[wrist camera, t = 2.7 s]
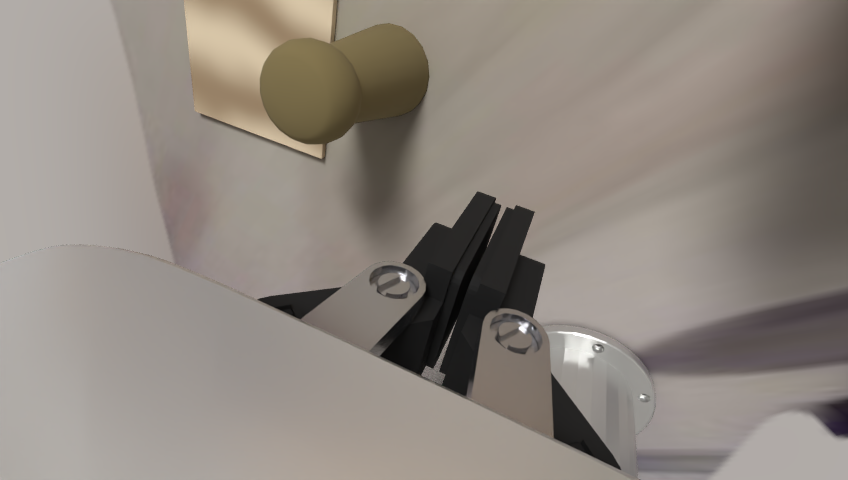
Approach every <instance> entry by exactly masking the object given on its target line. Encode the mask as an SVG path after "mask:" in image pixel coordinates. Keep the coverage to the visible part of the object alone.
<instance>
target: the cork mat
mask: <svg viewBox="0 0 848 480" xmlns="http://www.w3.org/2000/svg"><path fill="white" fill-rule="evenodd" d="M184 5H185V15H186V25H187V36H188V46H189V56H190V66H191V76H192V86H193V97H194V107H195V111H196V112H198V113H201V114H204V115H206V116H209V117H212V118H214V119H217V120H220V121H222V122H225V123H228V124H230V125H233V126H236V127H238V128H241V129H244V130H246V131H249V132H251V133H254V134H257V135H259V136H262V137H265V138H267V139H270V140H273V141H275V142H278V143H281V144H283V145H286V146H289V147H291V148H294V149H297V150H299V151H302V152H305V153H307V154H310V155H313V156H315V157H318V158H321V159H322V158H324V157H325V151H326V144H304V143H301V142H298V141H295V140H293V139H291V138H289V137H288V136H287V135H285V134H284V133H283V132H281V131H280V130H279V129H278V128H277V127H276V126H275V125H274V123H273V122H272V121H271V120H270V118H269V116H268V114H267V112H266V110H265V108H264V106H263V103H262V99H261V95H260V75H261V71H262V67H263V65H264V62H265V61H266V59H267V58H268V56H269V55H270V53H271V52H272V50H274V49H275V48H277V47H278V46H280V45H282V44H283V43H285V42H286V41H288V40H291V39H299V38H314V39H317V40H321V41H324V42H327V43H329V44H330V43H332V42H334V37H335V25H336V12H337V0H184Z"/></svg>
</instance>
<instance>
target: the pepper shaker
mask: <svg viewBox="0 0 848 480" xmlns="http://www.w3.org/2000/svg"><path fill="white" fill-rule="evenodd" d="M428 80H429V68H428V60H427V58H426V55H425V52H424V50H423V47H422V46H421V44H420V43H419V42H418V40H417V39H416V38H415V36H414V35H413V34H411V33H410V32H409V31H407V30H406V29H404V28H403V27H401V26H397V25H393V24H390V23H388V24H380V25H375V26H372V27H370V28H367V29H365V30H362V31H360V32H357V33H355V34H352V35H350V36H347V37H345V38H342V39H340V40H337V41H335V42H332V43H330V44H329V43H327V42H324V41H321V40H317V39H314V38H299V39H291V40H288V41H286V42H285V43H283V44H282V45H280V46H278V47H277V48H275V49H274V50H272V52H271V53H270V55H269V56H268V58H267V59H266V61H265V62H264V65H263V67H262V71H261V75H260V95H261V99H262V103H263V106H264V108H265V110H266V112H267V114H268V116H269V118H270V120H271V121H272V122H273V123H274V125H275V126H276V127H277V128H278V129H279V130H280V131H281V132H283V133H284V134H285V135H287V136H288V137H289V138H291V139H293V140H295V141H298V142H301V143H304V144H327V143H329V142H332V141H334V140H336V139H338V138H340V137H342V136H343V135H344V134H345V133H346V132H347V131H348V130H349V129H350V128H351V127H352V126H353V125H354V123H359V122H365V121H371V120H377V119H383V118H389V117H394V116H400V115H403V114H405V113H408V112H410V111H412V110H413V109H414V108H415V107H416V106H417V105H418V104H419V103H420V102H421V100H422V98H423V96H424V94H425V93H426V91H427V86H428Z"/></svg>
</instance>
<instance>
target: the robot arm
mask: <svg viewBox="0 0 848 480" xmlns="http://www.w3.org/2000/svg"><path fill="white" fill-rule="evenodd" d="M495 200H496V198H495V197H492V196H489V195H486V194H484V193H481V192H477V193H476V194H475V196H474V197H473V199H472V200H471V202H470V203H469V204H468V206H467V207H466V209H465V210H464V212H463V213H462V215H461V216H460V217H459V219H458V220H457V222H456V223H455V225H454V226H453V228H449V227H446V226H444V225H441V224H439V223H434V224H433V225H432V227H431V228H430V229H429V230H428V232H427V233H426V234H425V236H424V237H423V238H422V239H421V241H420V242H419V243H418V244H417V246H416V247H415V248H414V250H413V251H412V252H411V253H410V255H409V256H408V257H407V258H406V260H405V261H404V262H403V263H400V262H394V261H383V262H379V263H375V264H373V265H371V266H369V267H368V268H367V269H365V270H364V271H363V272H361V273H360V274H359V275H357V276H356V277H355V278H354V279H352V280H351V281H350V282H348V283H347V284H346V285H344V286H343V287H340V288H332V289H324V290H316V291H308V292H300V293H292V294H284V295H276V296H269V297H265V298H260V299H258V300H257V299H255V298H252V297H250V296H248V295H246V294H244V293H241V292H239V291H237V290H235V289H233V288H230V287H228V286H226V285H224V284H222V283H219V282H217V281H215V280H212V279H210V278H208V277H205V276H203V275H200V274H198V273H196V272H193V271H191V270H188V269H186V268H184V267H181V266H179V265H176V264H174V263H171V262H168V261H166V260H163V259H160V258H156V257H153V256H150V255H147V254H143V253H138V252H134V251H129V250H125V249H120V248H112V247H103V246H96V245H60V246H53V247H48V248H44V249H40V250H36V251H33V252H30V253H27V254H24V255H21V256H18V257H15V258H12V259H9V260H6V261H3V262H1V263H0V480H640V479H638V467H637V451H636V435H637V434H639V433H640V432H641V431H642V430H643V429H644V428H645V427H647V425H648V424H649V422H650V420H651V419H652V417H653V414H654V410H655V407H656V404H655V391H654V385H653V380H652V378H651V376H650V374H649V372H648V369H647V368H646V367H645V365H644V364H643V363H642V361H641V360H640V359H639V358H638V357H637V356H636V355H635V354H634V353H633V352H632V351H631V350H629V349H628V348H627V347H626V346H624V345H622V344H621V343H619V342H618V341H616V340H615V339H613V338H611V337H608V336H606V335H604V334H602V333H600V332H597V331H593V330H590V329H586V328H583V327H576V326H569V325H548V326H541V325H540V324H539V323H538V322H537V321H536V320H535V319H533V314H534V310H535V306H536V302H537V297H538V293H539V289H540V285H541V281H542V277H543V273H544V269H545V264H543V263H540V262H538V261H535V260H532V259H530V258H527V257H525V256H522V255H520V252H521V249H522V246H523V243H524V241H525V238H526V235H527V232H528V229H529V227H530V224H531V221H532V218H533V215H534V211H531V210H528V209H525V208H523V207H520V206H517V205H516V206H515V209H514V210H513V209H510V208H508V207H507V208H506V210H505V212H504V214H503V216H502V218H501V220H500V222H499V224H498V226H497V228H496V230H495V232H494V234H493V236H492V238H491V240H490V242H489V239H490V237H491V234H492V231H493V228H494V225H495V222H496V219H497V217H498V214H499V211H500V208H501V205H499V204H496V203H495ZM488 242H489V244H488ZM487 245H488V246H487ZM456 320H457V321H456ZM455 322H456V324H455ZM454 324H455V327H454V330H453V333H452V336H451V339H450V341H449V344H448V347H447V350H446V353H445V356H444V359H443V362H442V365H441V368H440V371H439V372H441V373H444V374H446V375H445V378H444V381H443V384H442V385H443V386H442V385H440V384H438V383H436V382H434V381H431V380H429V379H427V378H425V377H423V376H421V374H422V372H423V370H424V368H425V367H426V366H428V367H431V368H434V366H435V364H436V362H437V360H438V358H439V356H440V354H441V352H442V349H443V347H444V345H445V343H446V341H447V339H448V337H449V335H450V333H451V331H452V329H453V326H454Z"/></svg>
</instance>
